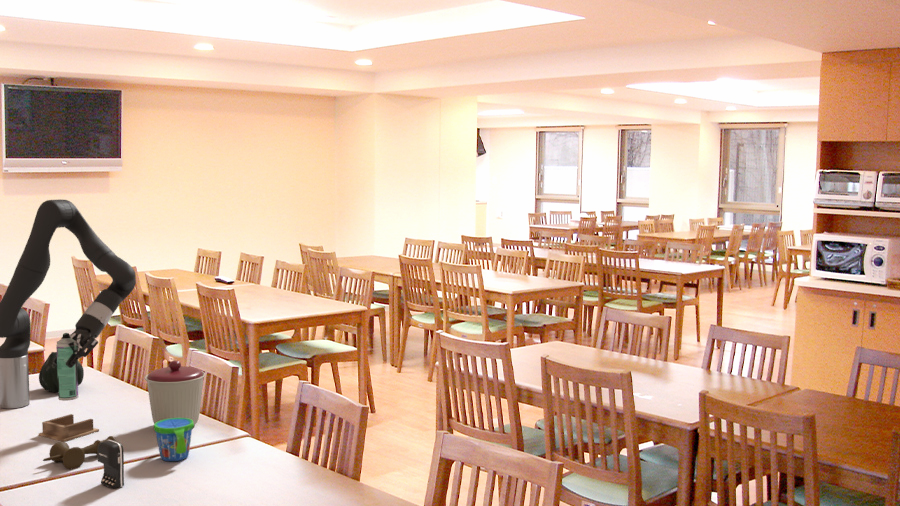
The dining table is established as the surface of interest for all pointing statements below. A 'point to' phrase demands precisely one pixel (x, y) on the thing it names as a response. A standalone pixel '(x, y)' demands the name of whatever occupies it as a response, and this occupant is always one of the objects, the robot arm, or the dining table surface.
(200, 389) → the canister
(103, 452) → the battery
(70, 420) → the keeper cradle
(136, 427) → the dining table surface
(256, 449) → the dining table surface
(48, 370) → the squash
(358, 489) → the dining table surface
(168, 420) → the snack cup
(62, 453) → the kendama
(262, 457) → the dining table surface
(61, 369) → the spray can
